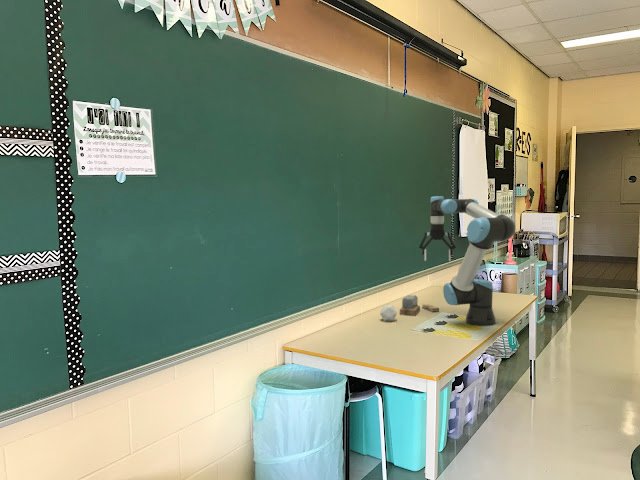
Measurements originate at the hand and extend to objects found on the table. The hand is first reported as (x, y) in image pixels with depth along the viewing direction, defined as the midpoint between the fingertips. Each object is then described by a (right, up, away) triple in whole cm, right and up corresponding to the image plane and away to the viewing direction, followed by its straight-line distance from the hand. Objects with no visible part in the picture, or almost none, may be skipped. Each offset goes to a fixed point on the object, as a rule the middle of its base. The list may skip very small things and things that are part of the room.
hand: (437, 260), depth 286 cm
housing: (-15, -27, +6) cm, 32 cm away
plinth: (-15, -31, +7) cm, 35 cm away
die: (-29, -33, -10) cm, 45 cm away
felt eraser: (-1, -30, +13) cm, 33 cm away
